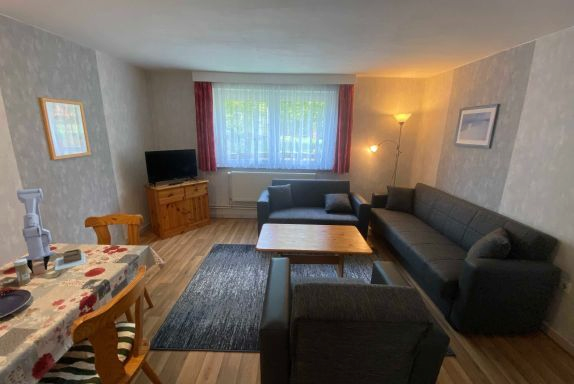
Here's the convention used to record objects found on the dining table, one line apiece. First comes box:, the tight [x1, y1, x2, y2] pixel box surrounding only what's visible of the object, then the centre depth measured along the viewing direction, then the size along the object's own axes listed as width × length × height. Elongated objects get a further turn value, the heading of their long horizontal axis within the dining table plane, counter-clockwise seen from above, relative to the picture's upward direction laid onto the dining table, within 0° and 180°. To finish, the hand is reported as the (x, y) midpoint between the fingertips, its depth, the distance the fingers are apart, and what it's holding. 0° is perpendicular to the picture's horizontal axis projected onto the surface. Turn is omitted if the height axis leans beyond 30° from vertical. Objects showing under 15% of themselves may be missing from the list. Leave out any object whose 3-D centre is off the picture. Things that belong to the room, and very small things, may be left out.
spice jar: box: [13, 258, 31, 287], centre depth 127 cm, size 5×5×13 cm
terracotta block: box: [32, 261, 47, 276], centre depth 138 cm, size 5×5×5 cm
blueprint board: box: [54, 252, 87, 271], centre depth 151 cm, size 17×14×1 cm
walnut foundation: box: [62, 248, 82, 263], centre depth 153 cm, size 8×8×4 cm
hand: (39, 270), depth 138 cm, fingers closed on terracotta block, 5 cm apart
